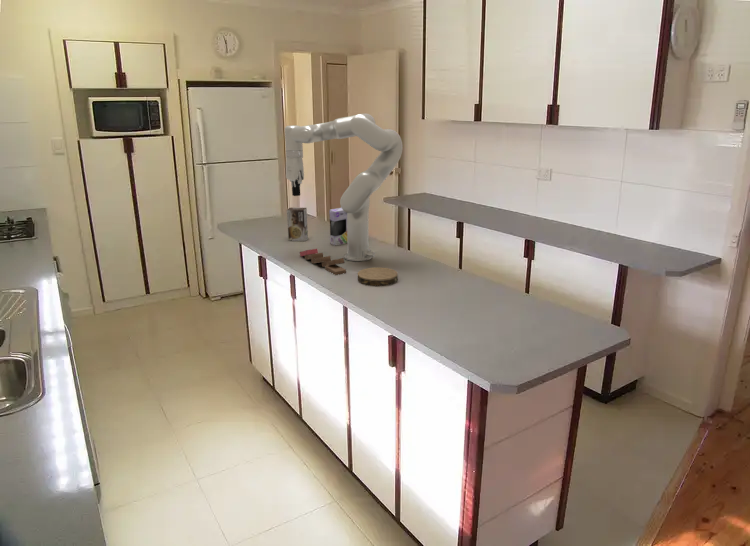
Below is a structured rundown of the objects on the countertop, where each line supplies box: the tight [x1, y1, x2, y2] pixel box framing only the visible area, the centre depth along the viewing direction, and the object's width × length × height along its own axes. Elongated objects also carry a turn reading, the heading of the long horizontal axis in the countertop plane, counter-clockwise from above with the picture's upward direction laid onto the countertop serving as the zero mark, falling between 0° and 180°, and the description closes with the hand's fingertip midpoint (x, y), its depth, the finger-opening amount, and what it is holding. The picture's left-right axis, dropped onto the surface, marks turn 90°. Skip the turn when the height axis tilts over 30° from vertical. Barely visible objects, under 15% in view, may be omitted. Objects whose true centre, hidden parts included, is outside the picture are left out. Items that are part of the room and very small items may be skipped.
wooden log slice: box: [357, 267, 399, 287], centre depth 216 cm, size 16×16×3 cm
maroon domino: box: [299, 248, 319, 257], centre depth 246 cm, size 2×5×9 cm
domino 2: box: [310, 255, 332, 264], centre depth 235 cm, size 2×5×9 cm
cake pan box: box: [328, 207, 347, 246], centre depth 271 cm, size 19×5×18 cm, turn 131°
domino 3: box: [321, 257, 345, 268], centre depth 230 cm, size 2×5×9 cm
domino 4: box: [324, 264, 347, 276], centre depth 227 cm, size 2×5×9 cm
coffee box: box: [286, 207, 309, 242], centre depth 276 cm, size 9×6×16 cm
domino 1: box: [304, 252, 324, 261], centre depth 241 cm, size 2×5×9 cm
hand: (296, 195), depth 246 cm, fingers closed
